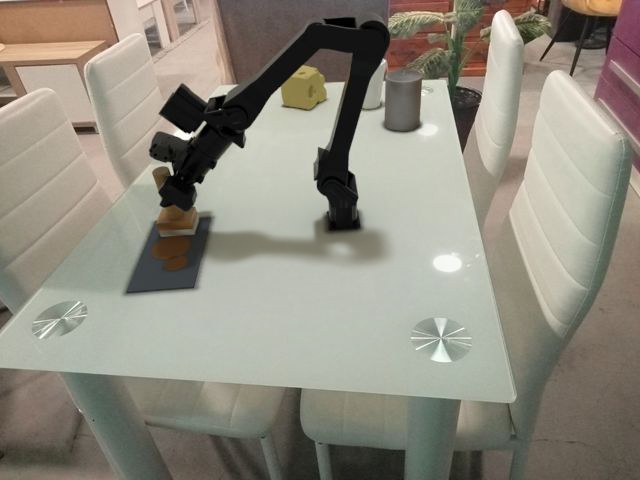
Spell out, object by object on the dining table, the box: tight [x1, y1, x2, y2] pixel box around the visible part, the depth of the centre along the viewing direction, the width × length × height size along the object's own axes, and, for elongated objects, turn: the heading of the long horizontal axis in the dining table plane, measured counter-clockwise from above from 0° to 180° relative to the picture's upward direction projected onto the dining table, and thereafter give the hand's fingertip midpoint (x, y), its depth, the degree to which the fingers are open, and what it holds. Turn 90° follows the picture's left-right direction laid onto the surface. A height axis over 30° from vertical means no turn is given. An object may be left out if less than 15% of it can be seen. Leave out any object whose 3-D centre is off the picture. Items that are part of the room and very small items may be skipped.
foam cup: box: [362, 58, 387, 110], centre depth 143 cm, size 10×9×13 cm
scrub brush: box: [151, 165, 200, 237], centre depth 95 cm, size 7×5×14 cm
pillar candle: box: [384, 68, 423, 132], centre depth 129 cm, size 10×10×15 cm
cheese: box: [280, 64, 328, 111], centre depth 149 cm, size 10×11×10 cm
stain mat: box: [125, 216, 212, 294], centre depth 93 cm, size 22×12×1 cm, turn 2°
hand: (163, 201), depth 95 cm, fingers closed on scrub brush, 3 cm apart
